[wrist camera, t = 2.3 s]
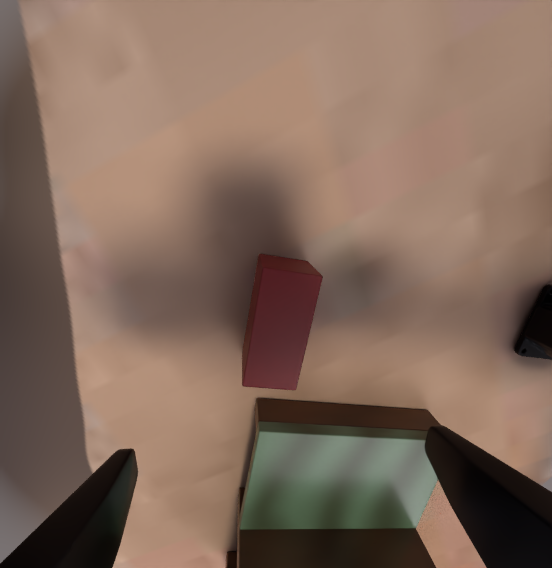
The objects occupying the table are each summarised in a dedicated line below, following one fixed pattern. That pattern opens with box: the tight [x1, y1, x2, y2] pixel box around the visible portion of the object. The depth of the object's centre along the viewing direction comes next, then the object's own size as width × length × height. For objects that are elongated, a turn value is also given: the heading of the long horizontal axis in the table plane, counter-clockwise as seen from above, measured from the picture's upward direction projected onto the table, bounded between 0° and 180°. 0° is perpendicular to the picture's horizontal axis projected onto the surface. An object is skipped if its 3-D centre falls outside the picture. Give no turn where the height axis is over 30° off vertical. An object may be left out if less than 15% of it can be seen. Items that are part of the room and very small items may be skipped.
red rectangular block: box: [242, 254, 323, 390], centre depth 19 cm, size 4×8×4 cm, turn 170°
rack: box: [226, 398, 440, 568], centre depth 23 cm, size 16×20×8 cm
